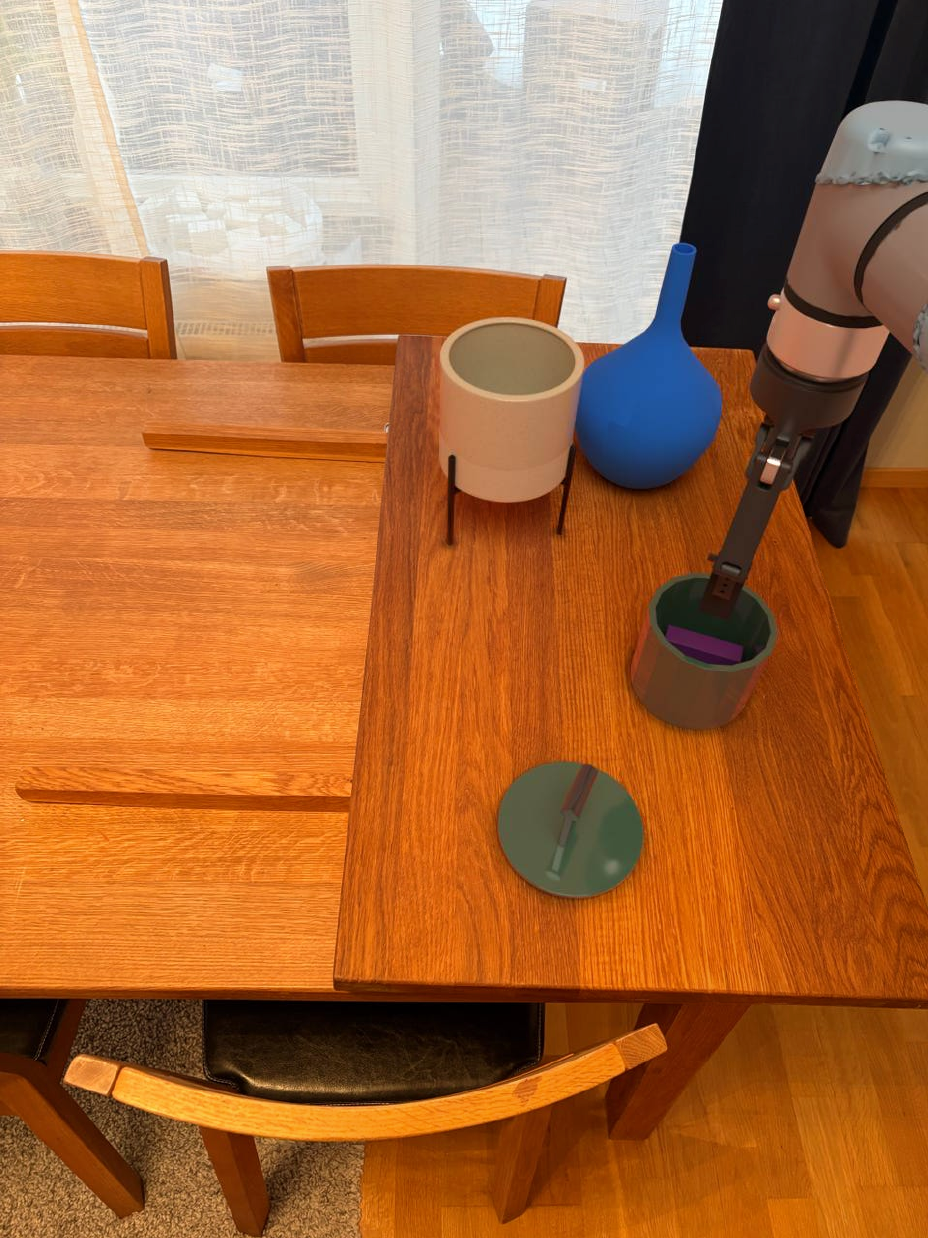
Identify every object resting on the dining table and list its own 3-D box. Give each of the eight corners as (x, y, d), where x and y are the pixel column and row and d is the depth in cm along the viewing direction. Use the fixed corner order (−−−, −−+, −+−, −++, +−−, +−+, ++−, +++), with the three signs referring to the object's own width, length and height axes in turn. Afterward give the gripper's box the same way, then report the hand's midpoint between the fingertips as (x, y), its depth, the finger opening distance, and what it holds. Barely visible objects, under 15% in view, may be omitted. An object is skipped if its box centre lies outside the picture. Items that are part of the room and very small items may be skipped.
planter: (543, 466, 114) (564, 308, 96) (572, 552, 104) (601, 394, 86) (430, 476, 112) (429, 316, 94) (448, 565, 102) (451, 405, 84)
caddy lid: (660, 802, 83) (679, 757, 76) (611, 928, 75) (629, 890, 68) (531, 746, 86) (539, 699, 80) (472, 860, 78) (476, 818, 72)
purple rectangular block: (730, 684, 91) (733, 668, 93) (740, 661, 88) (743, 646, 90) (656, 662, 93) (660, 647, 94) (664, 639, 90) (668, 624, 91)
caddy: (758, 661, 94) (789, 599, 86) (729, 748, 87) (759, 689, 79) (651, 621, 97) (671, 557, 89) (614, 701, 90) (632, 640, 82)
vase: (544, 434, 118) (572, 219, 95) (664, 412, 122) (718, 200, 99) (597, 524, 107) (643, 305, 84) (727, 496, 111) (804, 280, 88)
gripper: (803, 262, 69) (732, 467, 85) (716, 436, 54) (650, 642, 70) (899, 286, 67) (807, 491, 83) (835, 473, 52) (740, 677, 68)
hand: (735, 561), depth 77 cm, fingers open, 13 cm apart
